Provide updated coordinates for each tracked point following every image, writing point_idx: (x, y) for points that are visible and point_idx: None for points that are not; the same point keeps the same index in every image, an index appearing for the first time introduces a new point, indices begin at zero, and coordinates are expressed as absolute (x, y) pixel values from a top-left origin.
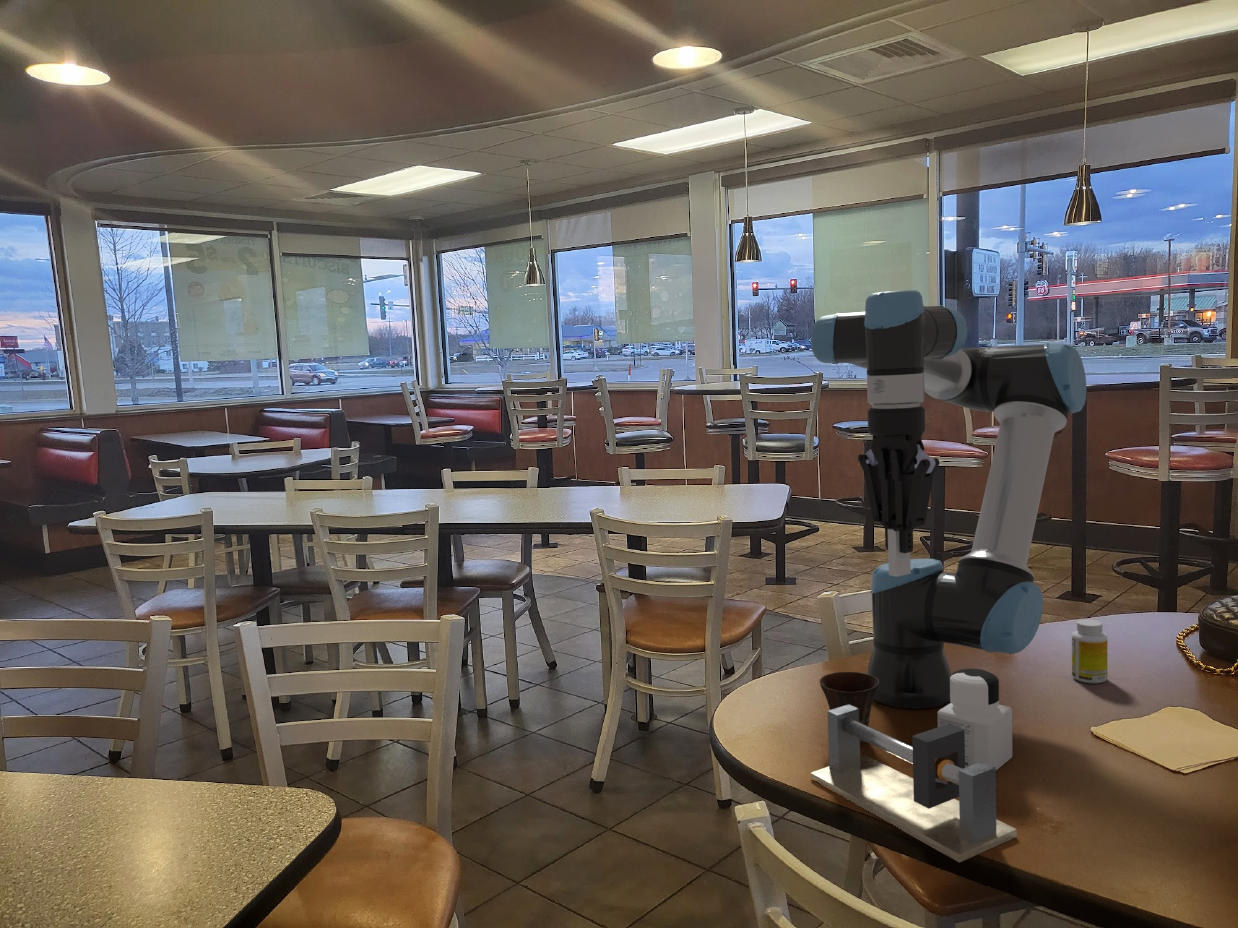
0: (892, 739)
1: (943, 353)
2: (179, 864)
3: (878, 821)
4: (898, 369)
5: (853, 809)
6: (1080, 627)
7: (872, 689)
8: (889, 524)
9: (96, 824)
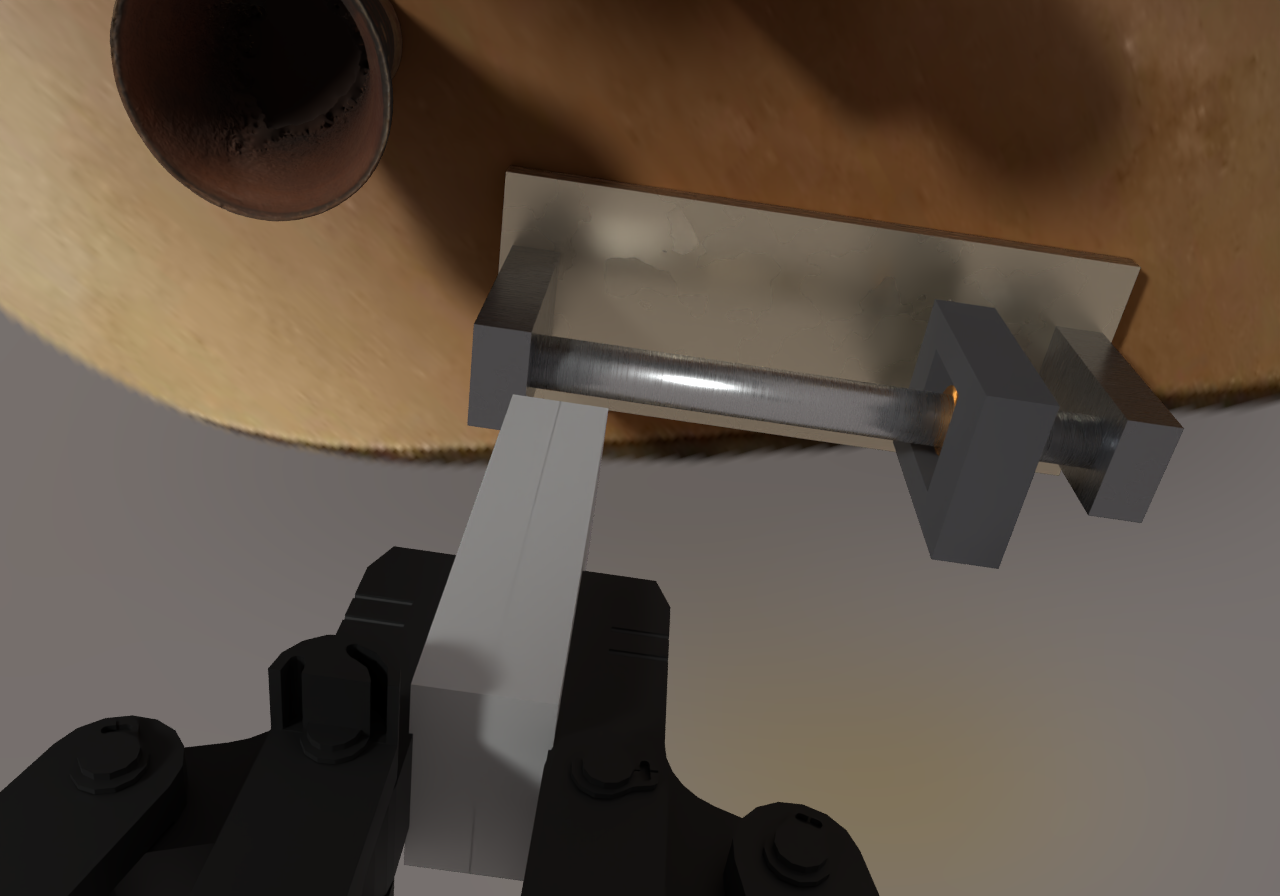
0: (761, 409)
1: None
2: None
3: (789, 440)
4: None
5: (700, 435)
6: None
7: (391, 78)
8: (390, 890)
9: None
